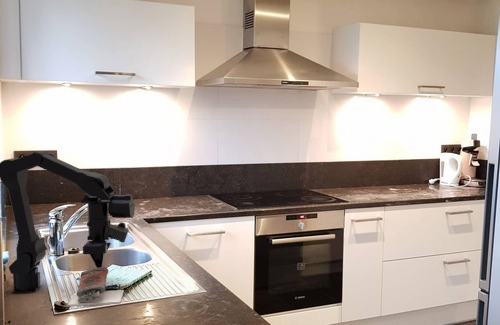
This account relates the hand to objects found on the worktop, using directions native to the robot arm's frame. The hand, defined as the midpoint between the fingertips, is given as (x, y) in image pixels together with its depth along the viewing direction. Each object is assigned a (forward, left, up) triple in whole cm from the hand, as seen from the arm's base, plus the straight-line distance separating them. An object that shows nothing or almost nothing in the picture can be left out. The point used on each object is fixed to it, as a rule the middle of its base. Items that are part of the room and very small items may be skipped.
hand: (99, 268), depth 145 cm
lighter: (-1, -3, 0) cm, 3 cm away
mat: (0, -7, -6) cm, 9 cm away
